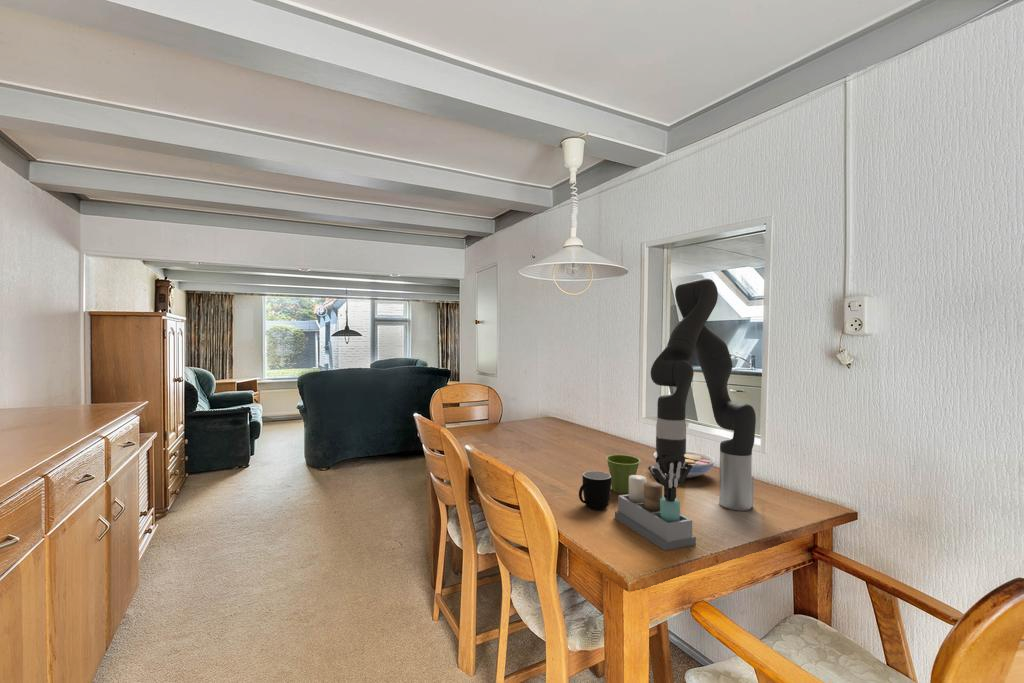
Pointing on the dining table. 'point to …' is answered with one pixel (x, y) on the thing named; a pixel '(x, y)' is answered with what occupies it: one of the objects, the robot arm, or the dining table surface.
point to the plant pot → (622, 471)
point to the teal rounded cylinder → (670, 510)
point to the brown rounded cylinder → (652, 496)
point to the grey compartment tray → (655, 525)
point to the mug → (596, 489)
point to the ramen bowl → (697, 463)
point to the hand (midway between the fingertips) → (669, 500)
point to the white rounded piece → (636, 488)
